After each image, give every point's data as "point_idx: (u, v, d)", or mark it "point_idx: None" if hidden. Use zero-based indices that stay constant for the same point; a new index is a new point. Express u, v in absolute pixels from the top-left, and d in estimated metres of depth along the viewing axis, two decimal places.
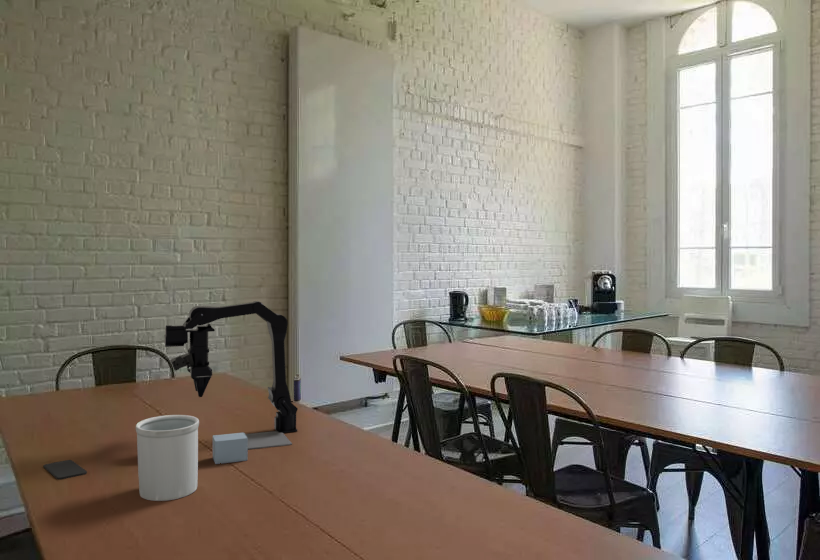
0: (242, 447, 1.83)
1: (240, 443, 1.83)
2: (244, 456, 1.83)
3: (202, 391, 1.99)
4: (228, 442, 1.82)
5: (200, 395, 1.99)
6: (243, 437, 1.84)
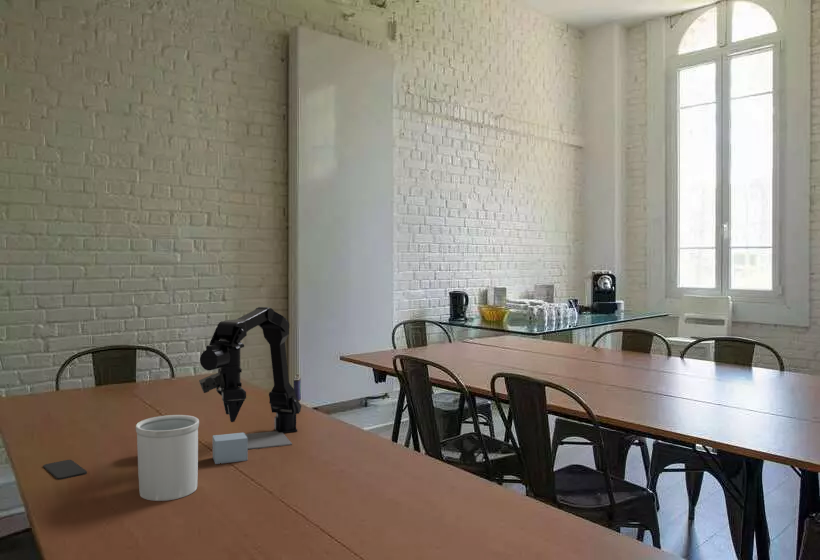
0: (242, 447, 1.83)
1: (240, 443, 1.83)
2: (244, 456, 1.83)
3: (234, 415, 1.80)
4: (228, 442, 1.82)
5: (232, 420, 1.80)
6: (243, 437, 1.84)
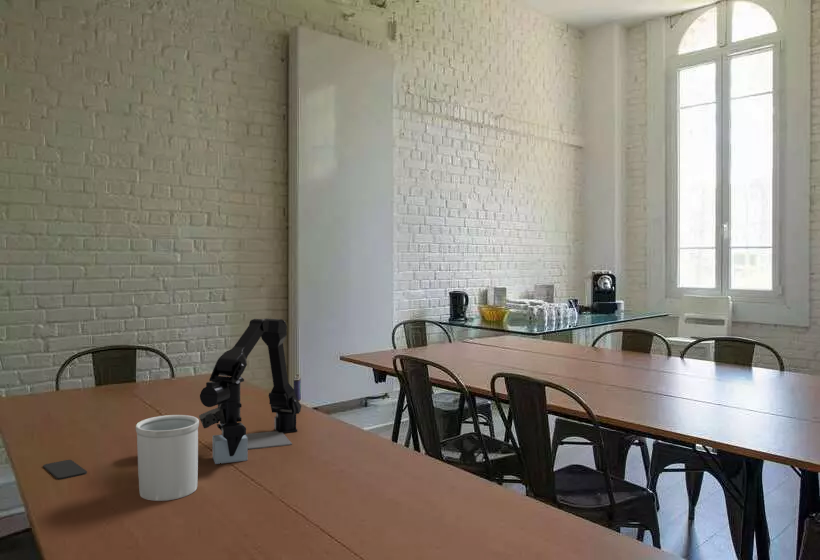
0: (242, 447, 1.83)
1: (240, 443, 1.83)
2: (244, 456, 1.83)
3: (234, 450, 1.81)
4: None
5: (231, 454, 1.81)
6: (243, 437, 1.84)
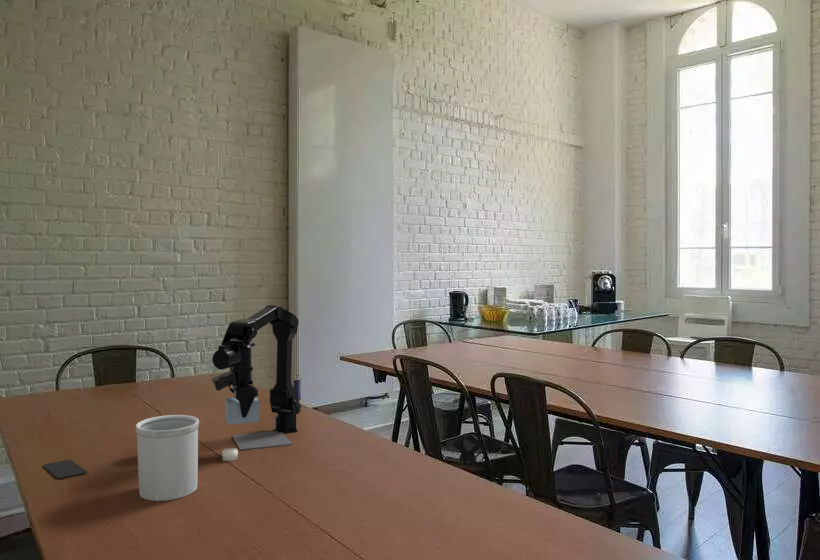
0: (254, 409, 1.89)
1: (252, 405, 1.89)
2: (256, 417, 1.90)
3: (246, 411, 1.88)
4: None
5: (244, 415, 1.88)
6: (254, 399, 1.90)
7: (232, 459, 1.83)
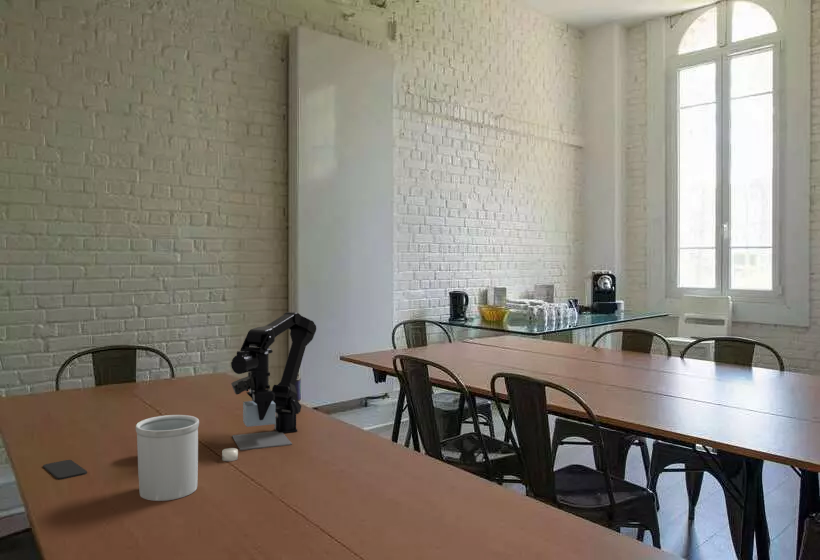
0: (270, 412, 2.00)
1: (269, 408, 2.00)
2: (272, 420, 2.01)
3: (263, 414, 1.98)
4: None
5: (261, 418, 1.99)
6: (271, 403, 2.01)
7: (232, 459, 1.83)
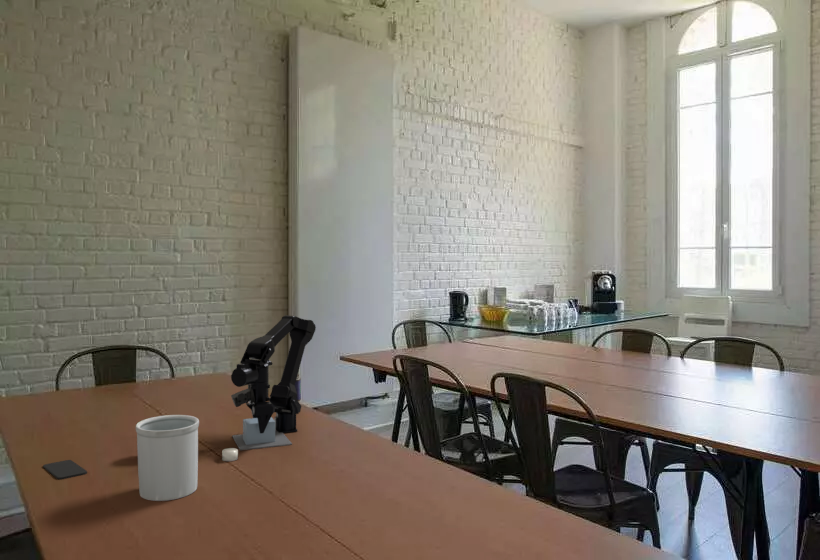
0: (270, 429, 2.00)
1: (268, 426, 2.00)
2: (272, 438, 2.01)
3: (263, 427, 1.98)
4: (258, 425, 1.99)
5: (261, 431, 1.98)
6: (271, 420, 2.02)
7: (232, 459, 1.83)
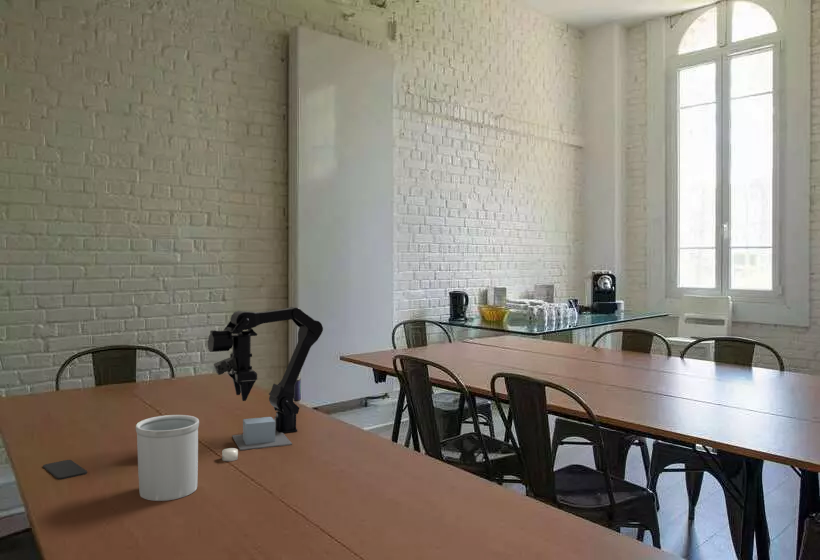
0: (270, 429, 2.00)
1: (268, 426, 2.00)
2: (272, 438, 2.01)
3: (246, 395, 2.01)
4: (258, 425, 1.99)
5: (244, 399, 2.02)
6: (271, 420, 2.02)
7: (232, 459, 1.83)
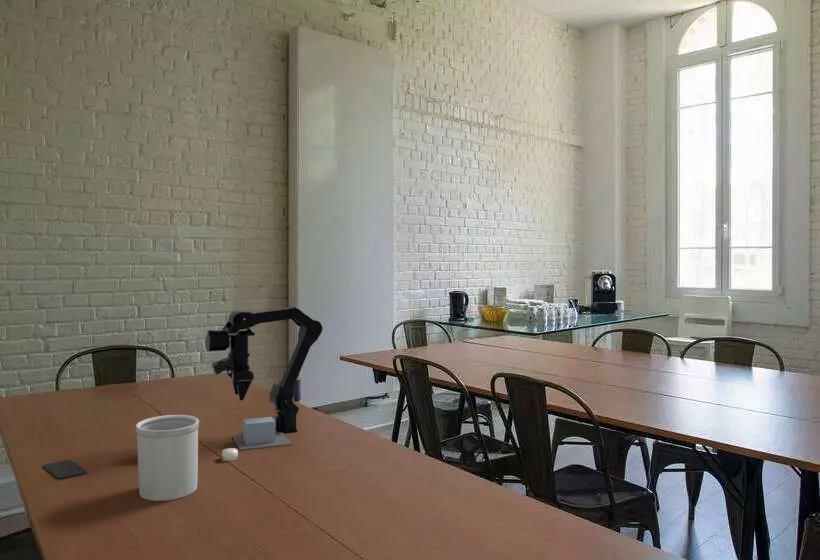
0: (270, 429, 2.00)
1: (268, 426, 2.00)
2: (272, 438, 2.01)
3: (243, 394, 2.02)
4: (258, 425, 1.99)
5: (241, 398, 2.02)
6: (271, 420, 2.02)
7: (232, 459, 1.83)
